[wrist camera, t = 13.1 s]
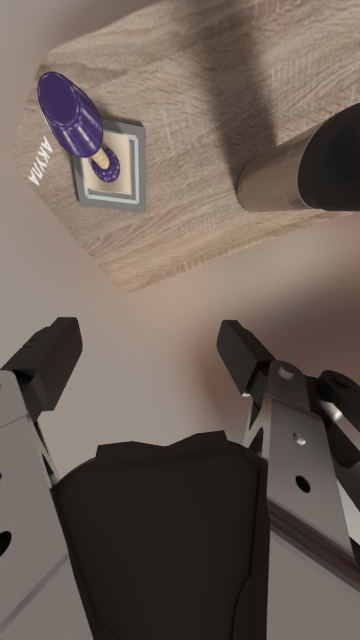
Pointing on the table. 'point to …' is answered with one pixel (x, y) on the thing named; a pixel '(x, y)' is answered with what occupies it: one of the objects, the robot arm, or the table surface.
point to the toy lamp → (76, 123)
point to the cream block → (122, 151)
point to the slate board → (137, 173)
